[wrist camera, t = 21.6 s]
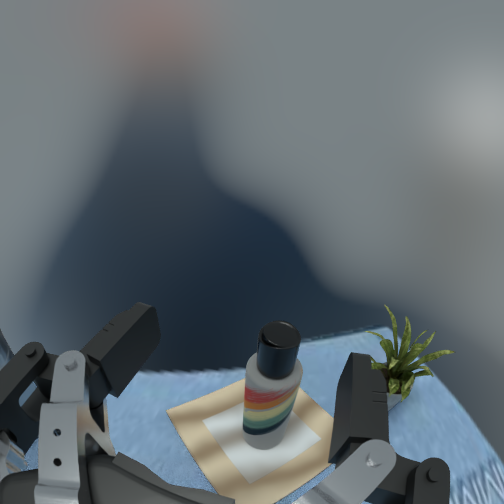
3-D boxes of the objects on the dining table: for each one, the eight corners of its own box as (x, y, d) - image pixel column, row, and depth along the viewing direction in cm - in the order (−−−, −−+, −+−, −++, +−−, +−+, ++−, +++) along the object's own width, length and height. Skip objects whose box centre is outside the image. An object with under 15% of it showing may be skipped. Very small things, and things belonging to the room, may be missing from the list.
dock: (167, 413, 35) (165, 410, 34) (274, 367, 45) (274, 363, 45) (240, 521, 20) (240, 520, 20) (356, 443, 31) (359, 440, 30)
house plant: (319, 382, 42) (344, 306, 35) (379, 358, 47) (408, 288, 40) (363, 445, 30) (413, 377, 23) (423, 408, 35) (470, 338, 28)
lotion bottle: (245, 415, 35) (253, 308, 26) (284, 419, 34) (311, 314, 26) (238, 447, 30) (242, 349, 21) (281, 452, 29) (313, 357, 21)
